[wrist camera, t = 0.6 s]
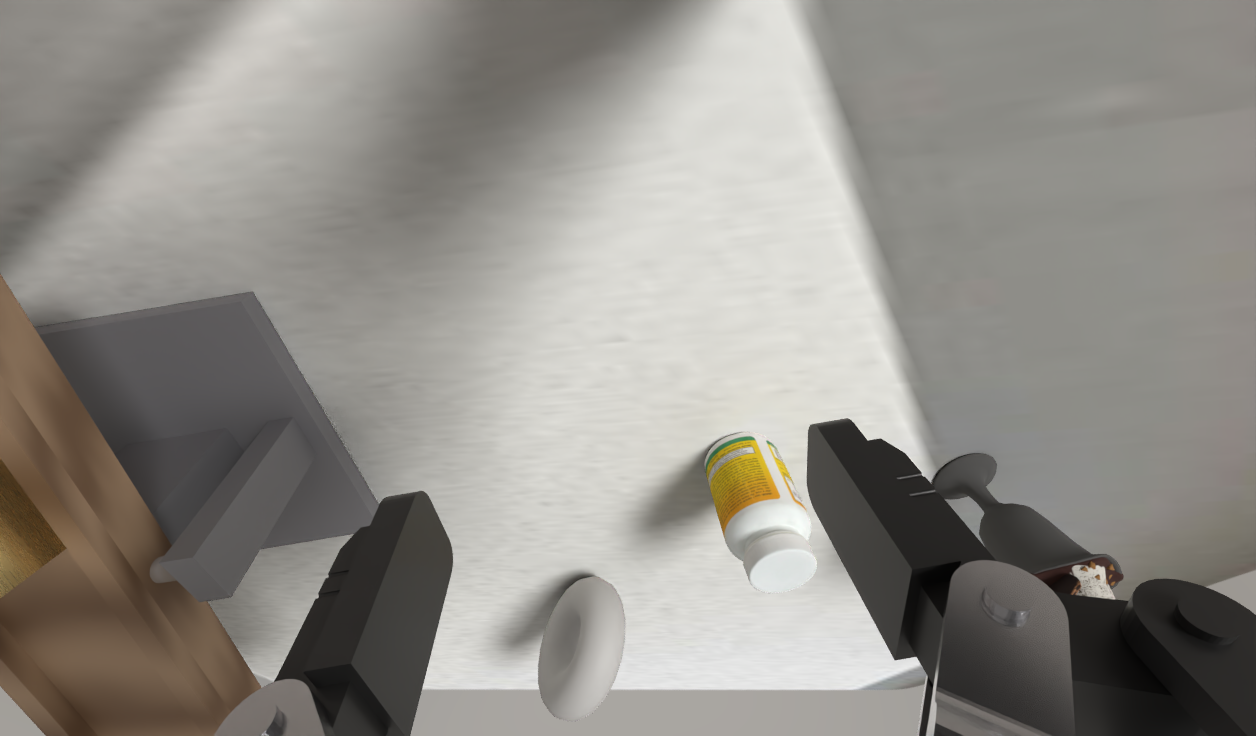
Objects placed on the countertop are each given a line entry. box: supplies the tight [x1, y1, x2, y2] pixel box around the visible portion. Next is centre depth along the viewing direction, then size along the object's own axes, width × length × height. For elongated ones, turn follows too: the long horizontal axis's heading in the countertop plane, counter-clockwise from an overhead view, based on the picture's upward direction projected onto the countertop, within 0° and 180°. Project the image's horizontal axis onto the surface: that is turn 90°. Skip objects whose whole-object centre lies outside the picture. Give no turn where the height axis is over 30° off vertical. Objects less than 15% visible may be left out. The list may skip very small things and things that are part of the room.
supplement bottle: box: [705, 432, 817, 593], centre depth 34 cm, size 5×5×10 cm
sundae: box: [933, 453, 1123, 600], centre depth 35 cm, size 7×7×15 cm
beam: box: [0, 274, 261, 736], centre depth 23 cm, size 30×10×4 cm, turn 8°
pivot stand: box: [35, 292, 379, 602], centre depth 28 cm, size 18×16×11 cm
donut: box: [538, 576, 625, 721], centre depth 40 cm, size 10×4×10 cm, turn 147°
